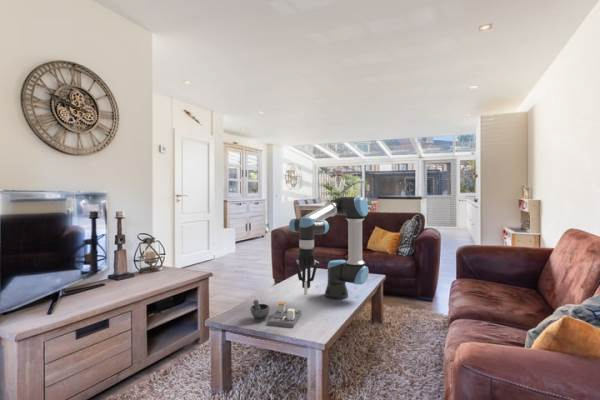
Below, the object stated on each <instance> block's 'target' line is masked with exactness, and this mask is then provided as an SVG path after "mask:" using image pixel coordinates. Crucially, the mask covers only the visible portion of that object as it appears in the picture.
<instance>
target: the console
mask: <svg viewBox="0 0 600 400" xmlns="http://www.w3.org/2000/svg"><path fill="white" fill-rule="evenodd" d="M287 310H288V309H286V308H285V311H284V312H278V309H277V310H276V312H275V313H274V314H273V315H272V316H271V317H270V318H269V320H268V326H275V327H284V328H294V327H295V326H296V325H297V322H298V321H299V320H300V318H301V316H302V310H299V309H298V310H296V309H295V318H294V320H288V312H287Z"/></svg>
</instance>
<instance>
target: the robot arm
mask: <svg viewBox="0 0 600 400" xmlns="http://www.w3.org/2000/svg"><path fill="white" fill-rule="evenodd" d="M368 214H369V204H368V201H367V200H366V199H365V198H364V197H361V196H340V197H336V198H333V199H331V200H329V201H328V202H325V204H324V205H323V206H321V207H318V209H315V210H313V211H311V212H309V213H307V214H305V215H304V216H301V217H300V218H297V217H296V218H292V219H290V220H289V223H288V227H289V228H288V229H289V230H290V232H293V233H299V240H298V243H299V244H298V246H299V248H298V250H299V251H298V258H297V260H295V261H293V264H294V265H295V268H296V272H297V278H298V281H301V286H302V288H303V290H304V292H303V296H308V294H309V289H310V288H311V282H313V281H314V280H315V277H316V273H317V268H318V266H319V265H320V262H319V261H317V260H316V257H315V248H314V247H315V236H316V235H324V234H326V233H328V231H329V230H330V224H329V223H328V221H327V220H326V219H328V218H330V217H331V218H332V217H335V216H345V220H347V225H348V226H347V233H348V234H347V237H348V238H347V241H348V242H347V246H348V249H347V251H348V258H347V260H345V259H332V260H330V261H328V262H327V283H326V288H325V291H324V297H326V298H327V299H331V300H344V299H347V298H348V297H349V291H348V287H347V283H349V284H353V285H360V286H362V285H364V284H365V283H366V282H367V280H368V277H369V273H370V272H369V267H368V266H366V262H365V261H364V260H363V221H365V219H366V218H365V217H366V216H367V215H368ZM300 265H301V267H300ZM312 265H313V270H312V273H311V267H312ZM301 270H302V271H301ZM306 276H307V277H306Z"/></svg>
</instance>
